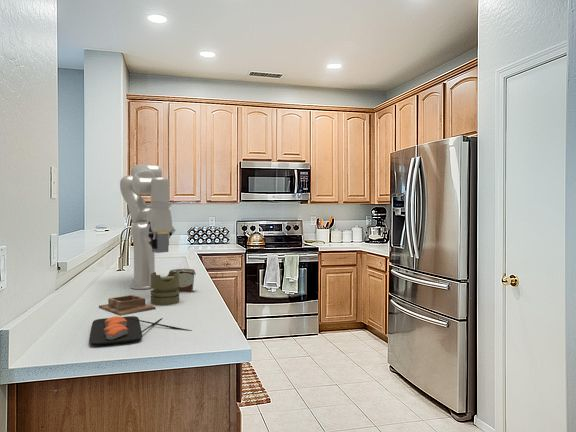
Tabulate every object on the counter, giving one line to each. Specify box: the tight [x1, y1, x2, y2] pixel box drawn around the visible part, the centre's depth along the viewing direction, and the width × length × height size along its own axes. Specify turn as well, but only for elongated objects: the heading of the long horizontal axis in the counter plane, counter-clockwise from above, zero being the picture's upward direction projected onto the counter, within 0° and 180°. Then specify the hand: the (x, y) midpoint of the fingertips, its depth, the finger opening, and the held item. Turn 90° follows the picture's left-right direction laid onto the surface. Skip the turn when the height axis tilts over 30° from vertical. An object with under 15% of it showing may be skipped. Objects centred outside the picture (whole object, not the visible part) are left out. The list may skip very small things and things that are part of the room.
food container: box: [169, 268, 196, 293], centre depth 210 cm, size 12×6×10 cm, turn 84°
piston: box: [150, 270, 180, 306], centre depth 186 cm, size 11×12×11 cm
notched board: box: [98, 294, 156, 316], centre depth 175 cm, size 18×14×4 cm
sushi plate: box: [88, 315, 193, 345], centre depth 145 cm, size 29×30×4 cm
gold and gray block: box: [152, 231, 169, 254], centre depth 197 cm, size 5×5×9 cm
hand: (160, 247), depth 197 cm, fingers closed on gold and gray block, 5 cm apart
